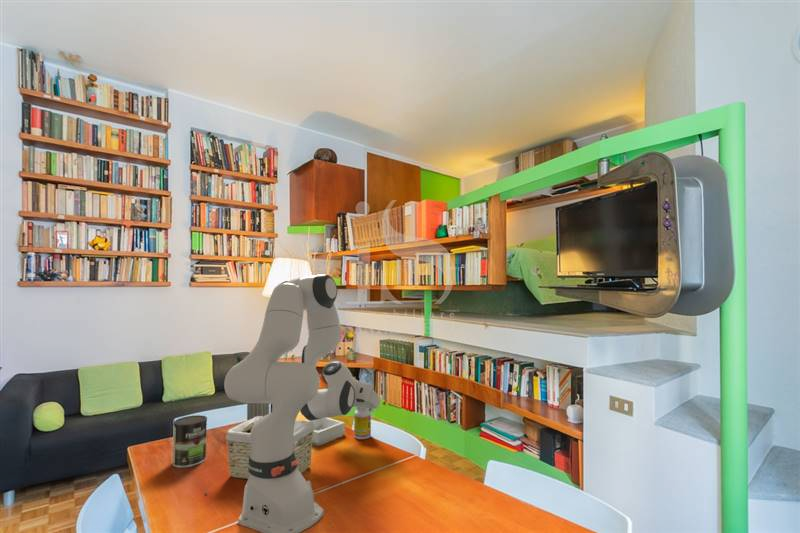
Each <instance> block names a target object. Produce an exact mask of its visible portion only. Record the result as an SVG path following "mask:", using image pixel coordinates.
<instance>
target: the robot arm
mask: <svg viewBox="0 0 800 533" xmlns="http://www.w3.org/2000/svg"><path fill="white" fill-rule="evenodd" d="M337 287H338V286H337V283H336V281H335V280H334V278H333V277H332V276H330V275H329V274H325V273H321V274H320V273H319V274H316V275H309V276H308V275H307V276H300V277H296V278H293V279H290V280H285V281H283V282H281V283H278V285H276V286H275V287H274V288H273V291H272V292H271V295H270V297H269V300H268V304H267V305H266V308H265V309H266V310H265V313H264V314H265V315H264V319H263V323H262V328H261V331H260V333H259V337H258V339H257V342H256V344H255V346H254V347H253V348H252V350H251V351H250V352H249V353H248V354H247V356H245V357H244V358H243V359H242V360H241V361H239V362H238V363H236V364H234V365H233V366H232V367H230V369H229V370H228V372H227V374H225V378H224V383H223V385H224V386H223V387H224V392H225V394H226V396H227V398H228V399H229V400H231V401H235V402H238V403H244V404H247V403H270V404H269V405H271V404H272V412H271V413H270V412H269V414H267V415H265V416H264V417H262V418H260V419H259V420H257V421H256V422H255V423H254V425H253V427H252V429H251V450H250V456H249V461H248V471H249V473H250V474H249V478H248V479H247V481H246V483H245V486H244V490H243V500H242V510H241V511H242V512H241V513H240V515H239V517H238V520H237V523H238V524H239V525H241V526H243V527H247V528H249V529H252V530H255V531H257V532H260V533H302V532H303V531H305V530H306V529H309V528H310V527H312V526H313V525H314V524H316V523H317V522H318V521H319V520H320V519H321V518H322V517H323V516H324V513H325V512H324V508H323V507H322V506H320V505H319V504H318V503H317V502H316V501H315V496H314V491H313V488H312V482H311V481H310V480H306V479H305V477H304V475H303V474H301V473H300V471H299V470H298V468H297V464H298V463H297V461H299V459H298V460H296V456H295V453H294V450H293V432H294V424H295V420H297V418H298V415H299V413H301V415H302V416H303V417H304V418H305V419H306V420H307V421H308V420H309V421H312V420H317V419H321V418H333V417H339V416H346V415H348V414H349V412H350V411H352V410H353V408H357V407H361V408H368V410H369V412H372V413H373V412H374V411H375V410H377V409H379V408H380V405H381V397H380V396H379V394H378V393H377V392H376V391H375V390H374V389H373V386H372V384H370V383H365V382H362V381H360V380H358V379H356V378H355V377H354V376H353V374H352V372H351V371H350V369H349V367H347V366H346V364H345V363H343V362H342V361H340V360H333V361H330V362H329V363H326V364H325V365H324V367H323V368H322V375H323V377H324V380H325V381H326V383H327V388H321V389H320V388H319V387H320V374H319V371H318V370H317V364H318V362H319V360H320V359H321V358H323V357H324V356H326V355H328V354H329V353H331V352H333V351H334V350H335V349H336V348H337V347H338V345H339V344H340V342H341V339H342V329H341V324H340V323H341V322H340V319H339V314H338V311H337V308H336V305H335V301H336V299H337V297H338V296H337V295H338V288H337ZM304 311H306V323H307V329H308V339H307V343H306V345H304V346H303V348H302V352H301V362H300V361H299V362H298V361H279V360H280V359H281V357H283V356H284V355H285V354H287V353H289V352H291V351H293V350H294V349H295V348H296V347H297V346H298V344H299V343H300V339H301V334H302V333H301V332H302V326H303V320H304Z"/></svg>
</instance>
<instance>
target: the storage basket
mask: <svg viewBox="0 0 800 533" xmlns="http://www.w3.org/2000/svg"><path fill="white" fill-rule="evenodd" d="M260 418H262V416H257V417H255V418H253V419H250V420H248V421H247V420H246V421H244V422H241V423H239V424H238V425H235V426H234V427H232V428H230V429H228V430H227V434H226V436H225V440H226V441H227V452H228V453H227V458H228V465H229V466H228V470H229V476H230V477H231V478H232V477H233V478H237V479H239V478H240V479H247V480H248V478H249V474H250V473H249V471H248V461H249V456H250V450H251V432H250V433H247V430H249V429H250V430H251V429H252V427H253V425H254V423H255V422H256V421H257V420H259V419H260ZM307 421H308V420H300V419H299V420H298V419H296V420H295V424H294V432H293V450H294V453H295V456H296V460H298V459H299V461H297V463H298V464H297V468H298V470H299V471H300V473H301V474H302V473H304V472H305V471H306V470H307V469H309V468H310V466H311V461H312V460H311V459H312V451H313V450H312V448H313V444H312V438H313V431H314V423H313V422H307ZM302 475H303V474H302Z"/></svg>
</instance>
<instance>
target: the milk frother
mask: <svg viewBox="0 0 800 533" xmlns="http://www.w3.org/2000/svg"><path fill="white" fill-rule="evenodd" d="M246 405H247V407H246V412H247V413H246V414H247V415H246V421H248V420H250V419H253V418H255V417H257V416H262V417H264V416H265V415H267V414H270V413H271V412H272V404H270V403H246ZM250 432H251V430H250V429H249V430H247V431H246V433H250Z"/></svg>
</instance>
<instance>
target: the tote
mask: <svg viewBox="0 0 800 533" xmlns="http://www.w3.org/2000/svg"><path fill="white" fill-rule="evenodd" d="M306 421H307V422H313V423H314V431H313V438H312V446H316V447H319V446H322V445H325V444H327V443H330V442H331V441H335V440H336V438H337V439H339V438H341V437H343V435H344V436H345V434H346V433H345V432H346V430H345V429H346V427H345V426H346V425H345V424H346V422H344V421H341V420H337V419H334V418H332V417H328V418H321V419H317V420H312V421H309V420H308V419H307V420H306ZM338 437H339V438H338ZM329 441H330V442H329Z"/></svg>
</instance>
